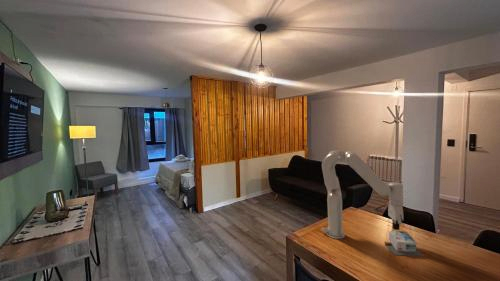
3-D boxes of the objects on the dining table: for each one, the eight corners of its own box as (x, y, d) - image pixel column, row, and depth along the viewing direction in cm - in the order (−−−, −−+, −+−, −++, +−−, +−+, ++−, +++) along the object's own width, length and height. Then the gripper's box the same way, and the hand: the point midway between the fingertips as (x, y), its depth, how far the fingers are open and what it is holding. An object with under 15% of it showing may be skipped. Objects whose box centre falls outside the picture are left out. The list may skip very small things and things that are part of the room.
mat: (393, 255, 127) (393, 254, 127) (386, 246, 136) (386, 245, 136) (423, 256, 124) (423, 255, 124) (413, 247, 134) (413, 246, 134)
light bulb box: (406, 231, 137) (417, 242, 126) (405, 240, 138) (416, 252, 128) (388, 230, 138) (397, 241, 128) (388, 239, 140) (396, 251, 129)
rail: (385, 245, 137) (385, 243, 137) (384, 244, 138) (384, 242, 138) (413, 246, 134) (413, 244, 134) (412, 245, 136) (411, 243, 136)
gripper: (384, 197, 146) (384, 223, 147) (395, 206, 131) (395, 234, 132) (396, 197, 145) (396, 224, 146) (408, 206, 130) (409, 235, 131)
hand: (396, 229), depth 139 cm, fingers closed
